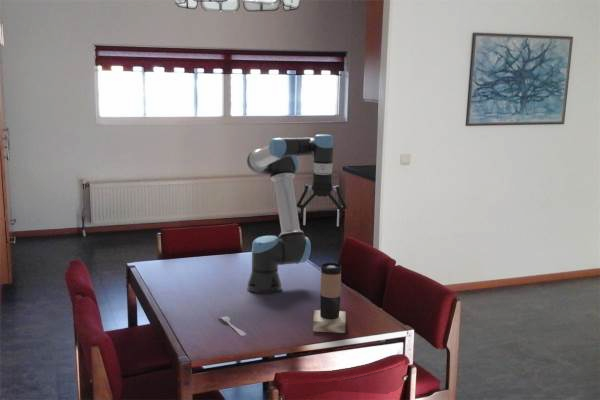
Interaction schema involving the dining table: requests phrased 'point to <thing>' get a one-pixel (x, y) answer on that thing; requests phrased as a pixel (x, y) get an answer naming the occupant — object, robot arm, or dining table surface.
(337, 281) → the travel mug
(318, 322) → the stand
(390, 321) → the dining table surface
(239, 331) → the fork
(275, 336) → the dining table surface
